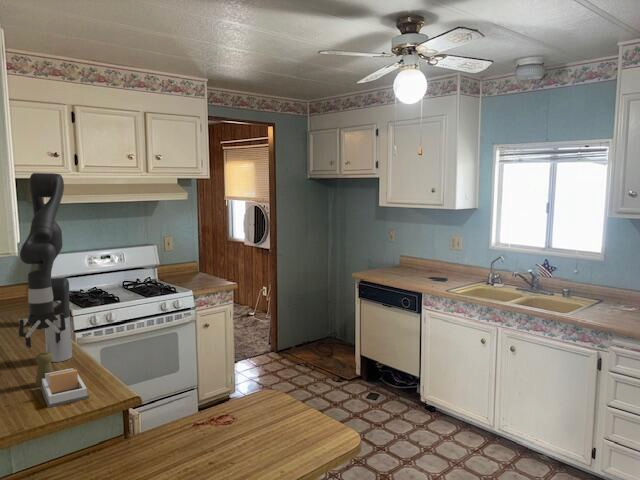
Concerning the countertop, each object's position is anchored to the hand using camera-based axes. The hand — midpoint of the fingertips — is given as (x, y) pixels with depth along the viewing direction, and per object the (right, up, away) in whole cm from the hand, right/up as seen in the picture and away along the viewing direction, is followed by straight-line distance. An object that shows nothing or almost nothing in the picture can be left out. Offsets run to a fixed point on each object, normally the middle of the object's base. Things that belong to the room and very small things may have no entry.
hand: (43, 345), depth 170 cm
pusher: (+10, -14, -6) cm, 18 cm away
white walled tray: (+11, -15, -6) cm, 20 cm away
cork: (0, -14, +2) cm, 14 cm away
